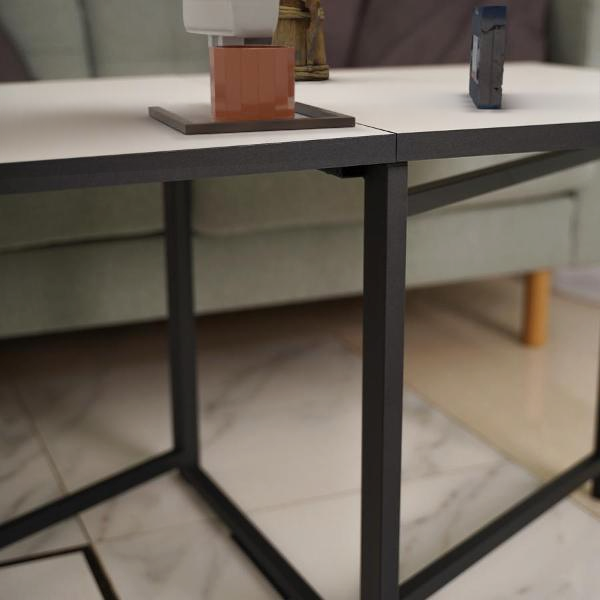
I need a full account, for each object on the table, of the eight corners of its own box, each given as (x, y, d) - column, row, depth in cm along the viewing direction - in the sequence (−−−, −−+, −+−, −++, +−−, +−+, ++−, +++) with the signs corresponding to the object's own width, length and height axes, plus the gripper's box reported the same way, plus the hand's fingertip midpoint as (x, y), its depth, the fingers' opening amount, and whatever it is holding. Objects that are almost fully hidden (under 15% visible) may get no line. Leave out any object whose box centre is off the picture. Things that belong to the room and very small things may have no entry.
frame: (185, 134, 73) (185, 124, 73) (148, 115, 86) (148, 106, 86) (355, 126, 78) (355, 117, 78) (296, 109, 91) (296, 101, 91)
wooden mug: (291, 84, 121) (291, -62, 115) (257, 77, 133) (255, -55, 127) (352, 82, 124) (355, -60, 118) (313, 75, 136) (314, -54, 130)
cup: (225, 128, 77) (223, 48, 75) (202, 119, 83) (200, 45, 81) (307, 124, 79) (307, 47, 77) (278, 115, 86) (278, 44, 84)
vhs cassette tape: (467, 92, 110) (472, 5, 107) (492, 93, 109) (498, 5, 106) (471, 108, 92) (477, 5, 89) (501, 109, 92) (508, 5, 89)
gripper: (164, -64, 91) (170, 78, 95) (219, -81, 73) (223, 95, 77) (225, -62, 93) (228, 76, 98) (293, -78, 75) (293, 93, 79)
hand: (226, 85), depth 87 cm, fingers closed
